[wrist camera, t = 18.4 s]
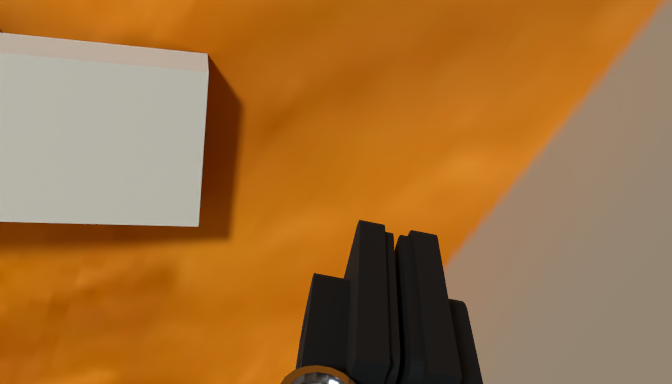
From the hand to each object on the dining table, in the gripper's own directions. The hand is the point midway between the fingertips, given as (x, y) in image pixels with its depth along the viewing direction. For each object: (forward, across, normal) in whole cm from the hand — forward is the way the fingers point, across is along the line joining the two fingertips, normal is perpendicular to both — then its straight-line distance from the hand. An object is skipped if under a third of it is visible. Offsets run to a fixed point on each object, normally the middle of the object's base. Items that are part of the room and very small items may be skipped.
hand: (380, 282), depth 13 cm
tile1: (+6, +5, 0) cm, 8 cm away
